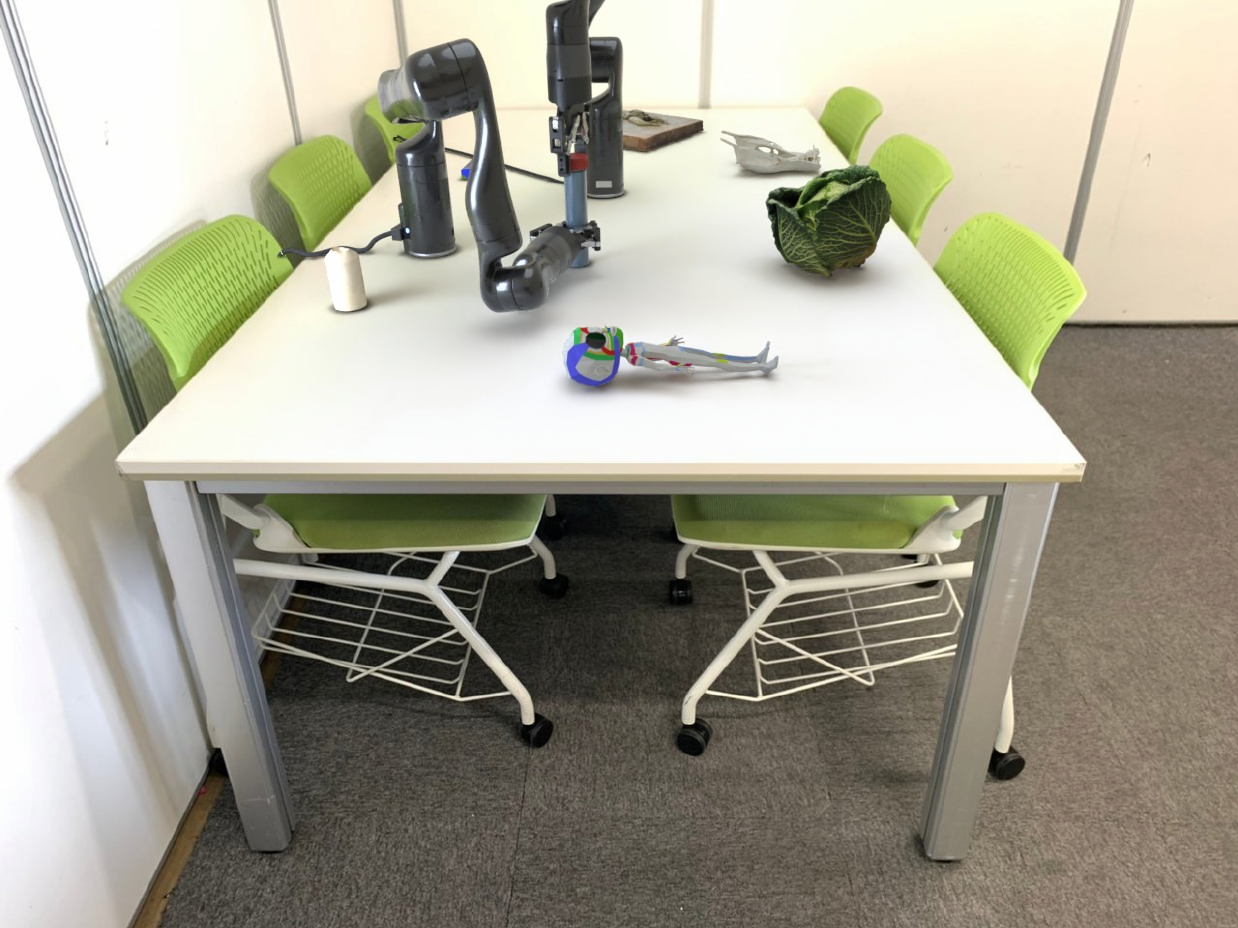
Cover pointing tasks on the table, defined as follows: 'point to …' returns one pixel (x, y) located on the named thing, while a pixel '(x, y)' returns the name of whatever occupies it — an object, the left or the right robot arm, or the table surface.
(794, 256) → the vegetable
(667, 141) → the plaque
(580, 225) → the blue cylindrical tube
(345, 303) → the candle
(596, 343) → the toy
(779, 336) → the table surface
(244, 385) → the table surface
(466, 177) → the pillar
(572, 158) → the lid
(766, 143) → the anatomical model
